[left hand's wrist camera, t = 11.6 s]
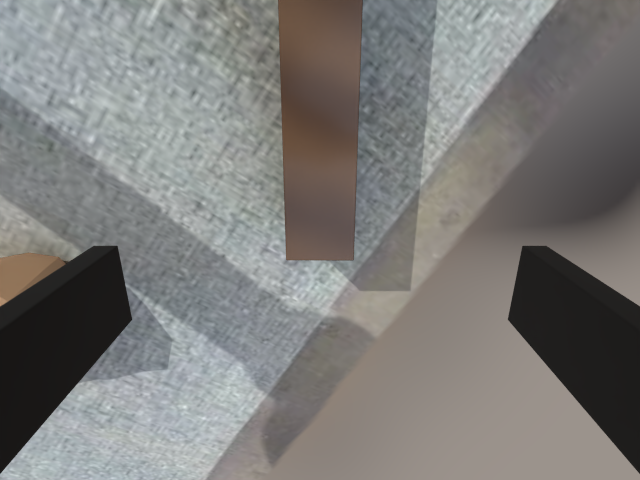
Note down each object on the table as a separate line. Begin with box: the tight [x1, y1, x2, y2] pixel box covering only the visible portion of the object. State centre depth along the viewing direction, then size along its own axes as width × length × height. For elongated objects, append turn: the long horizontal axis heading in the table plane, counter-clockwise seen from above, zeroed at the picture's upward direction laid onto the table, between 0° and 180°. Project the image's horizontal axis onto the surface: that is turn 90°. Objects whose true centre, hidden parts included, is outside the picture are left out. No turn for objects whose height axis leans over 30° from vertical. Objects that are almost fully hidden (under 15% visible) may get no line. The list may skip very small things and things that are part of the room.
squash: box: [0, 253, 65, 306], centre depth 35 cm, size 11×20×9 cm, turn 142°
